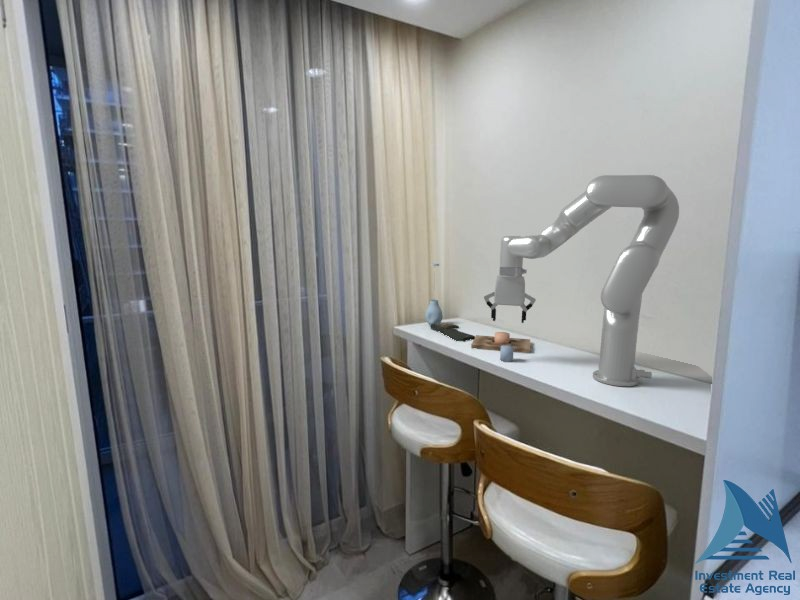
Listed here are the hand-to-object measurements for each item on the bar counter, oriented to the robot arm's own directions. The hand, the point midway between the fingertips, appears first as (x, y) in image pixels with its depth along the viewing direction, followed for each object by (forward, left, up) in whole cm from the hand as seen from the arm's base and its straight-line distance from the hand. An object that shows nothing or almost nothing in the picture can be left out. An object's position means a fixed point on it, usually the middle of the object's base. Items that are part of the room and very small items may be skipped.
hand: (508, 321), depth 145 cm
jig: (+3, -20, -14) cm, 24 cm away
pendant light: (+37, -48, -14) cm, 62 cm away
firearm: (+24, -35, -15) cm, 45 cm away
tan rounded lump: (+3, -20, -14) cm, 24 cm away
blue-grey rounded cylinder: (0, 0, -14) cm, 14 cm away
